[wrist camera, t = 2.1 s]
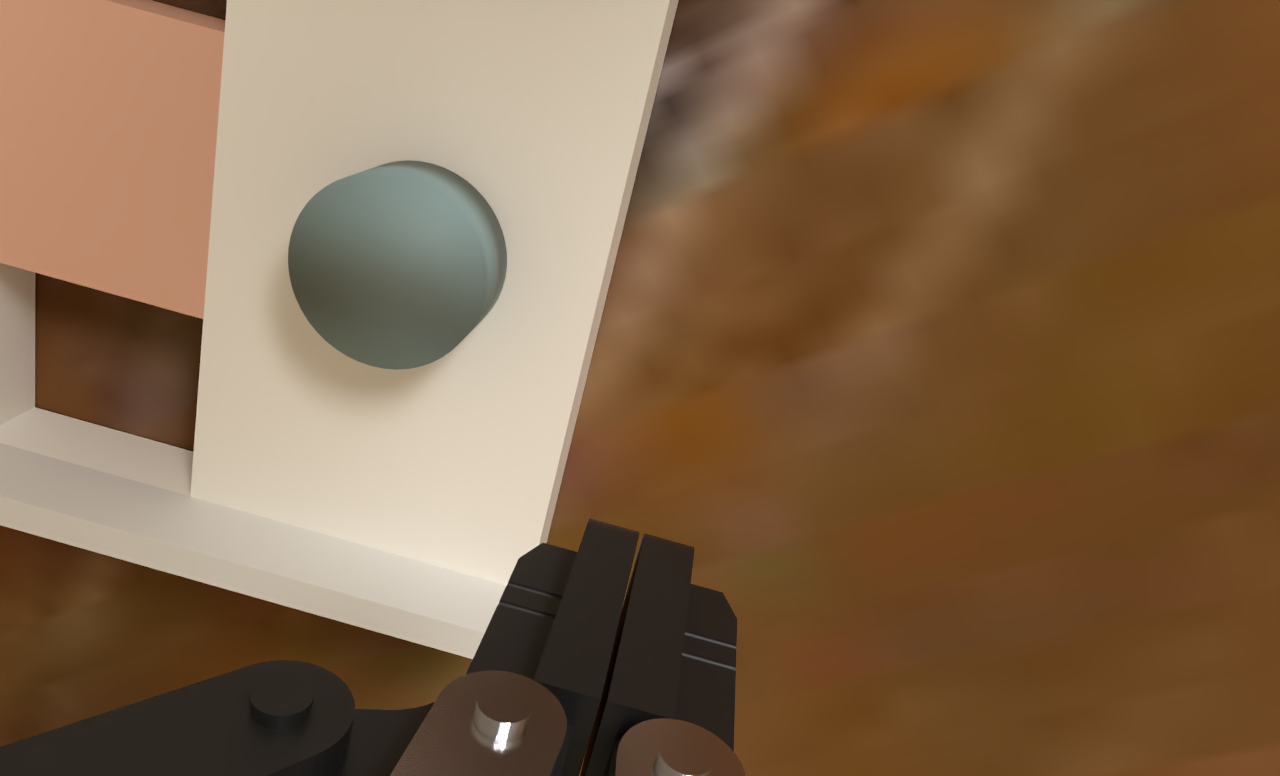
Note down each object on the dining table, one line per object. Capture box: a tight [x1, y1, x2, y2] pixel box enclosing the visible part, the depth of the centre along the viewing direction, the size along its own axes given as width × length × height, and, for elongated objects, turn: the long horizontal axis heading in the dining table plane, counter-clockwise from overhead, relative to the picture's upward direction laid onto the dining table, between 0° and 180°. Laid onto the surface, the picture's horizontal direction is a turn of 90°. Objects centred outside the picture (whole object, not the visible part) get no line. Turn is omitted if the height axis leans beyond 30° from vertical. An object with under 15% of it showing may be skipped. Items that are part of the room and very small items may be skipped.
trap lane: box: [0, 0, 679, 659], centre depth 26 cm, size 22×20×5 cm
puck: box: [288, 160, 507, 370], centre depth 24 cm, size 5×5×2 cm
